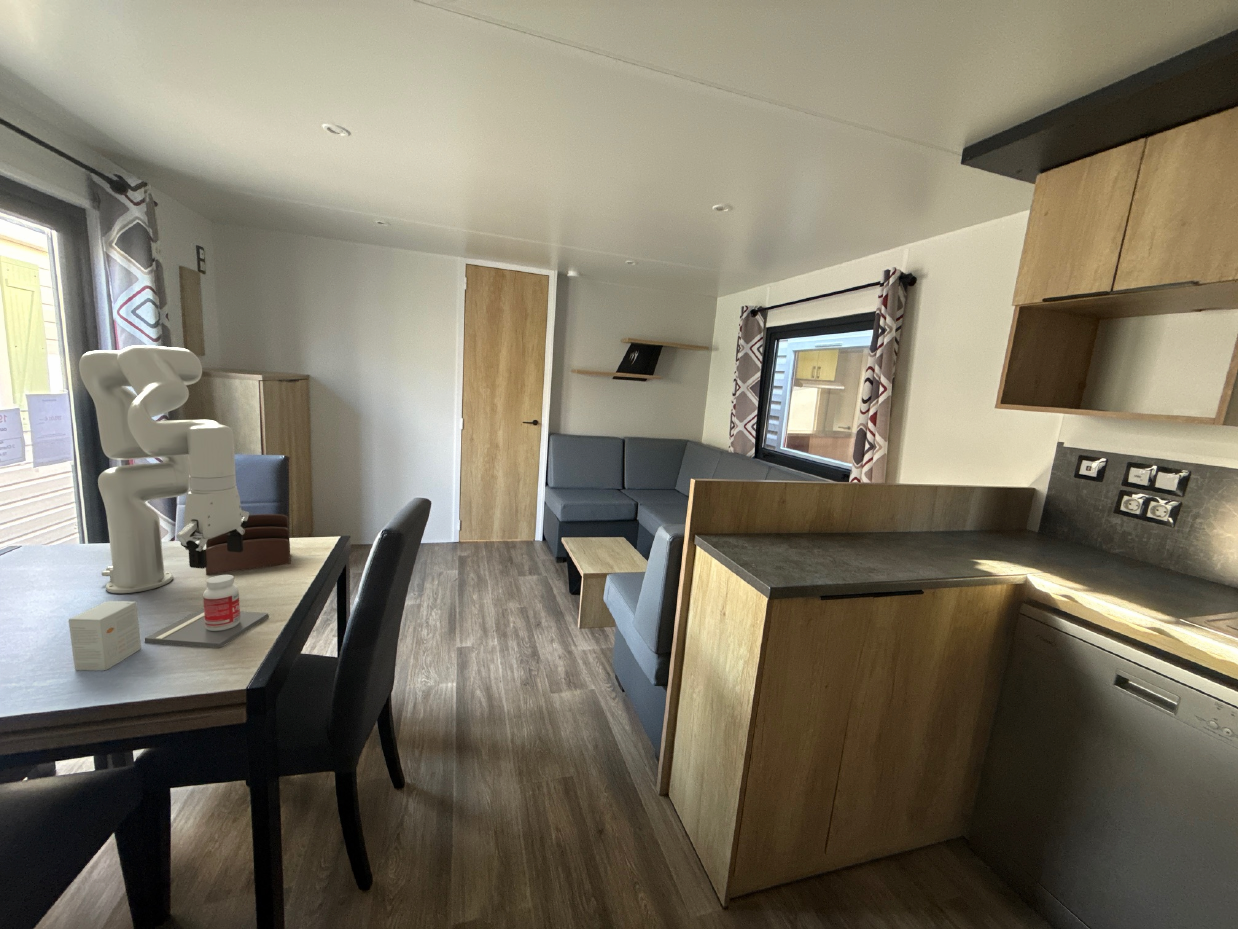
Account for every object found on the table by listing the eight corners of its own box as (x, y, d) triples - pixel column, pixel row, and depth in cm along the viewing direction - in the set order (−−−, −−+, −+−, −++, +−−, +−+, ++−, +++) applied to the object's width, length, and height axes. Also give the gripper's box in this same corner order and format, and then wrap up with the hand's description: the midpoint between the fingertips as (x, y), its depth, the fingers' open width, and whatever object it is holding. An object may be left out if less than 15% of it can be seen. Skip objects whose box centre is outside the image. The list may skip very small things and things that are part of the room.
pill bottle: (239, 628, 109) (236, 581, 107) (203, 634, 106) (199, 586, 104) (241, 616, 114) (239, 571, 112) (207, 622, 111) (204, 575, 109)
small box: (112, 648, 100) (107, 600, 99) (142, 649, 101) (137, 600, 99) (73, 671, 93) (66, 618, 91) (105, 671, 93) (99, 619, 91)
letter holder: (209, 563, 145) (206, 517, 143) (290, 554, 157) (288, 511, 154) (205, 575, 137) (202, 526, 135) (291, 564, 149) (289, 519, 146)
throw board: (144, 642, 103) (144, 637, 103) (202, 612, 117) (201, 607, 117) (219, 648, 103) (219, 642, 103) (268, 617, 117) (268, 612, 117)
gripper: (228, 473, 113) (232, 544, 116) (157, 490, 96) (163, 572, 99) (261, 476, 113) (263, 547, 116) (195, 493, 96) (200, 576, 99)
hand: (217, 559), depth 108 cm, fingers open, 9 cm apart
